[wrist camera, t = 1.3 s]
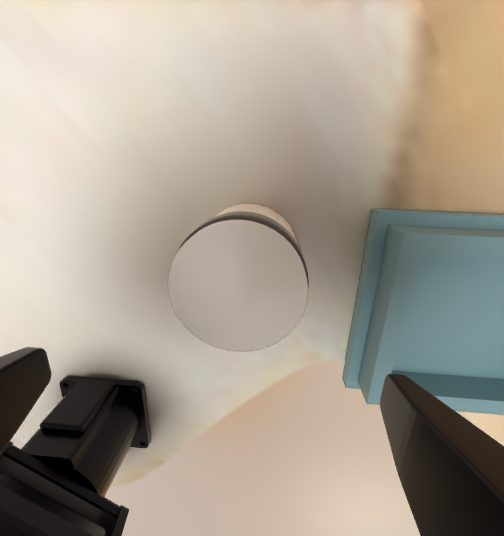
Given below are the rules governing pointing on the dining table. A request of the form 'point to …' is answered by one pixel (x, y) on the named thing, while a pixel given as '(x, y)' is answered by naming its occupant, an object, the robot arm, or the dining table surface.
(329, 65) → the dining table surface
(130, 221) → the dining table surface
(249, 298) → the lens
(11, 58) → the dining table surface
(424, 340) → the square tray
